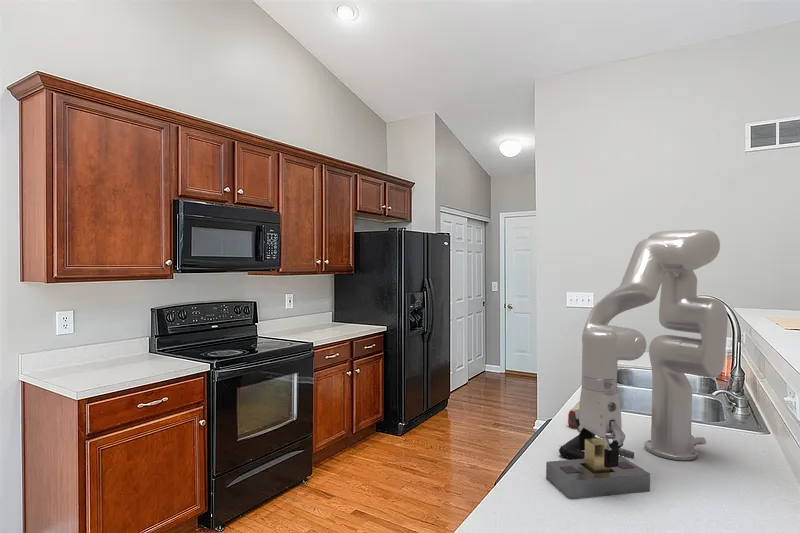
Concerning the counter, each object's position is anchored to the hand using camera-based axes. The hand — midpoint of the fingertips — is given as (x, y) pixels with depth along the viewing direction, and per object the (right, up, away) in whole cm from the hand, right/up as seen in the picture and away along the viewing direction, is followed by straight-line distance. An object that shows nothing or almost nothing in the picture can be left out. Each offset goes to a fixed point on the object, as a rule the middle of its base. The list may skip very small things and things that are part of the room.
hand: (597, 457), depth 111 cm
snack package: (+15, -6, +45) cm, 48 cm away
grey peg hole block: (0, -6, 0) cm, 6 cm away
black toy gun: (+8, -7, +19) cm, 21 cm away
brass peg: (0, -6, 0) cm, 6 cm away
